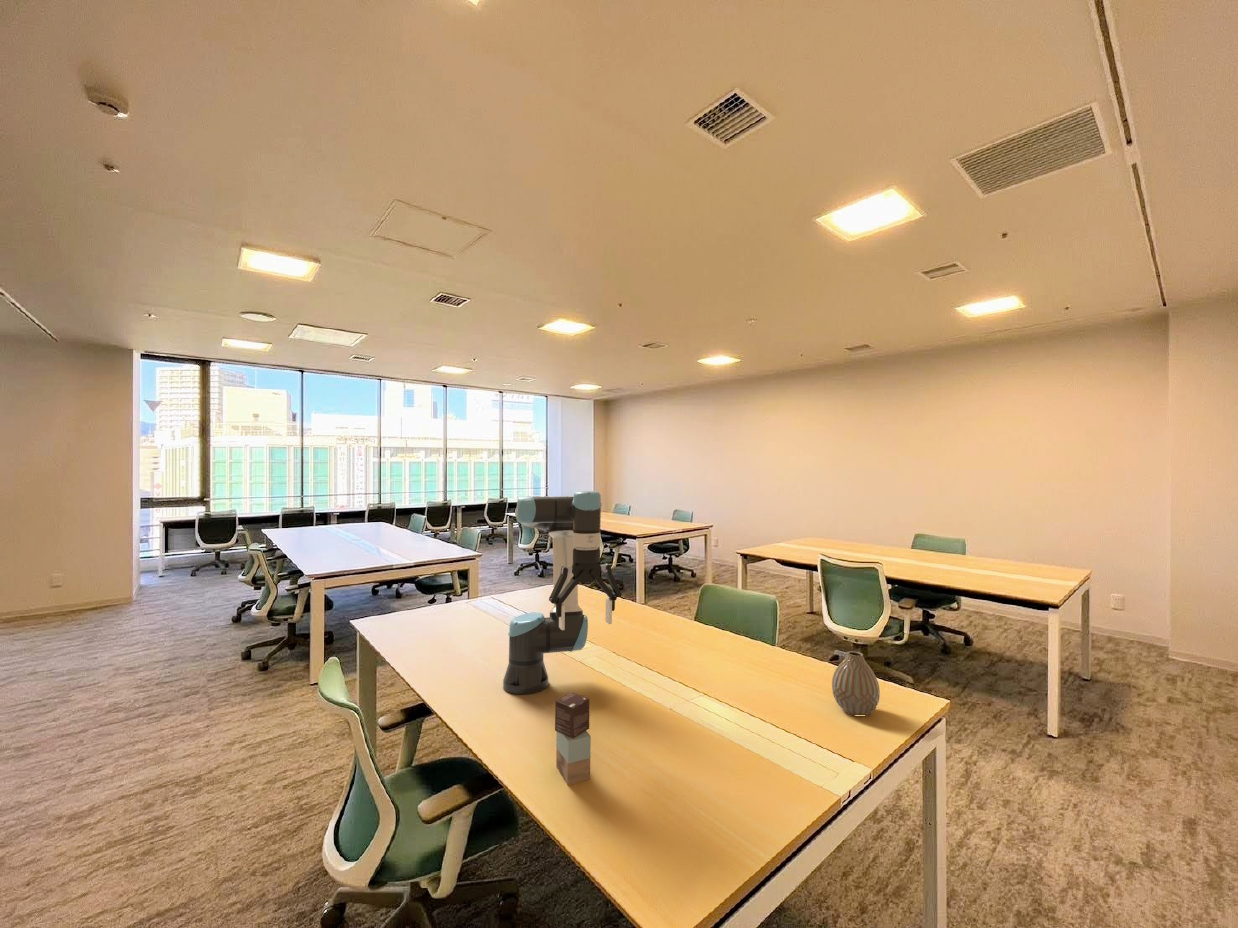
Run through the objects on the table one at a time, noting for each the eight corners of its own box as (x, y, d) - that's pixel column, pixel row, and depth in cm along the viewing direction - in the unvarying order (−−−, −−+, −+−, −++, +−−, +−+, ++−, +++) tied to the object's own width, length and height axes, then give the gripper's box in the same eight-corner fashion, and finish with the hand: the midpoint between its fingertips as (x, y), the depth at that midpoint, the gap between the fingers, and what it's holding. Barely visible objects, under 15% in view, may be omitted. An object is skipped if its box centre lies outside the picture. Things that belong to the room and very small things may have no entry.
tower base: (556, 767, 120) (556, 746, 120) (577, 761, 123) (577, 741, 123) (567, 785, 113) (567, 763, 113) (590, 779, 116) (590, 757, 116)
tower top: (556, 746, 120) (556, 725, 121) (577, 741, 123) (577, 720, 123) (568, 763, 113) (568, 741, 113) (590, 757, 116) (590, 735, 116)
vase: (881, 708, 152) (880, 650, 153) (878, 726, 141) (878, 664, 142) (835, 698, 159) (834, 643, 160) (829, 715, 148) (828, 655, 148)
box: (572, 721, 123) (572, 691, 123) (590, 729, 119) (590, 698, 119) (554, 731, 118) (554, 700, 118) (572, 739, 114) (572, 707, 114)
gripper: (545, 552, 127) (544, 635, 127) (633, 547, 137) (632, 624, 137) (538, 548, 134) (537, 626, 133) (622, 543, 144) (621, 616, 143)
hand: (585, 625), depth 135 cm, fingers open, 13 cm apart
